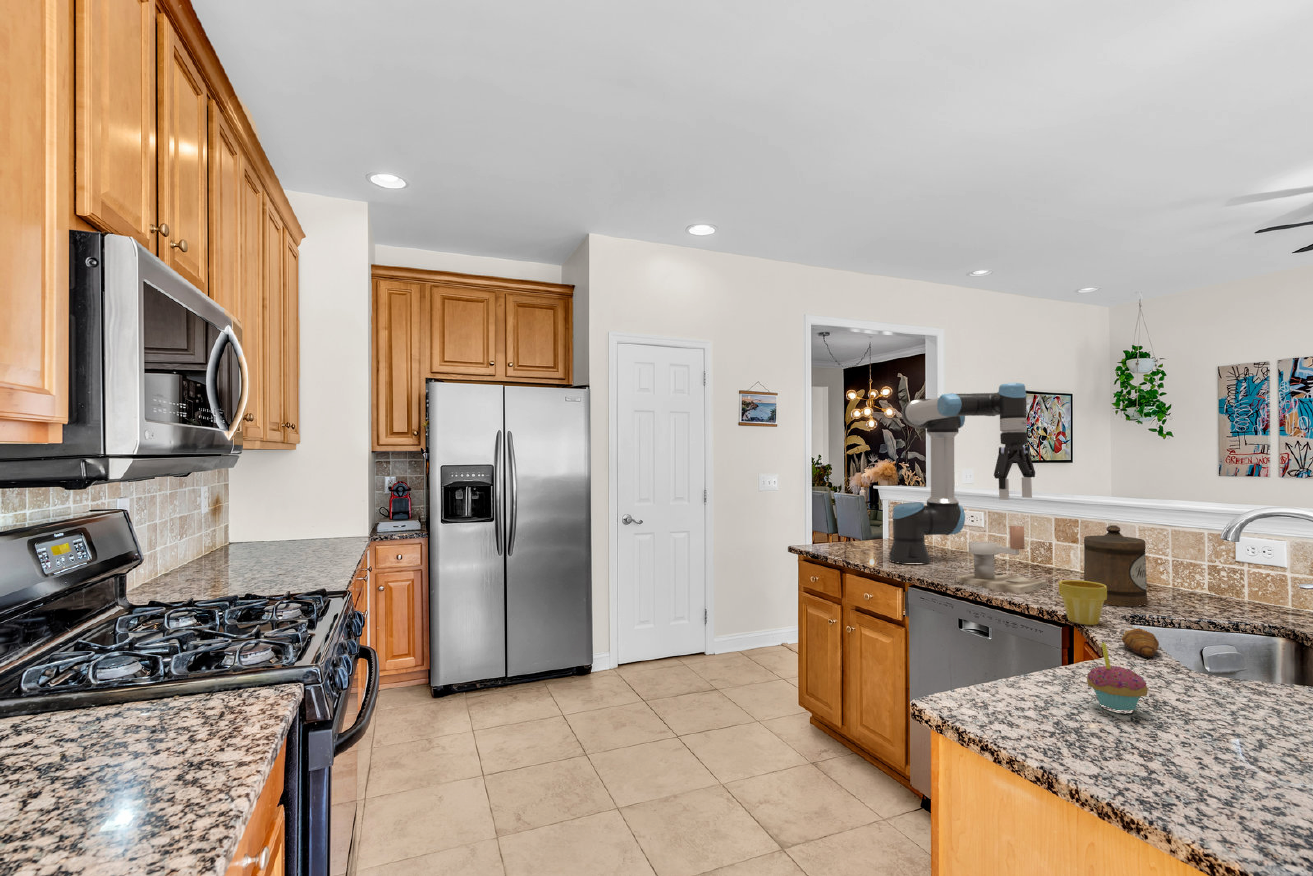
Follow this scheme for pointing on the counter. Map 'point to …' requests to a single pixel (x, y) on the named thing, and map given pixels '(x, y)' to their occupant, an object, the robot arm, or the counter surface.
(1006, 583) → the post base
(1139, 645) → the croissant
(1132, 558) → the wooden container
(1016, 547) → the crank handle
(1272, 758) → the counter surface
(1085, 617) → the plant pot
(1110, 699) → the cupcake
